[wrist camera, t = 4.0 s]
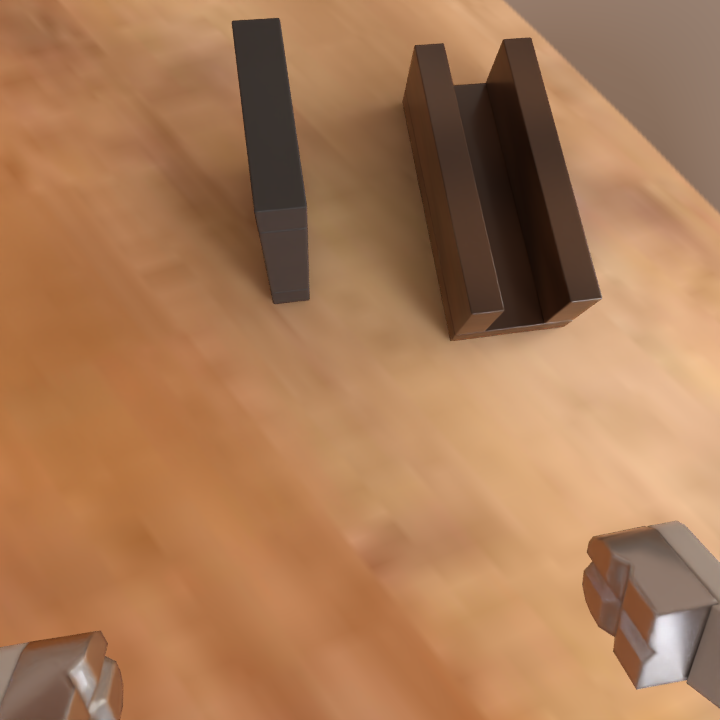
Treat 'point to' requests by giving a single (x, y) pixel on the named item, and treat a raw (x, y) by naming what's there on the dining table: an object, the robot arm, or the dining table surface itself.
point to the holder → (497, 196)
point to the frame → (273, 157)
